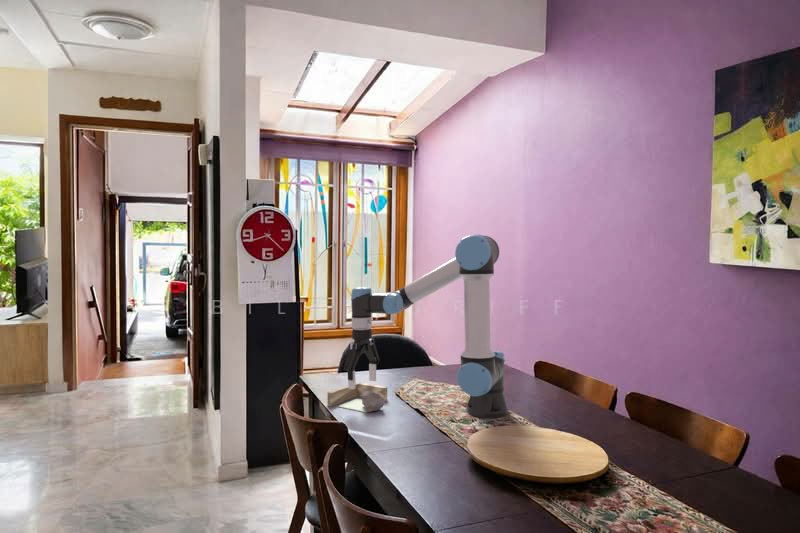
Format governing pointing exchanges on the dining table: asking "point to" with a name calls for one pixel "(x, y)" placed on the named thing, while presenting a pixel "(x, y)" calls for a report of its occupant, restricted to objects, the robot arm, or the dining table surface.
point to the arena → (354, 392)
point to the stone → (372, 401)
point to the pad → (354, 405)
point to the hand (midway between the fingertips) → (362, 384)
